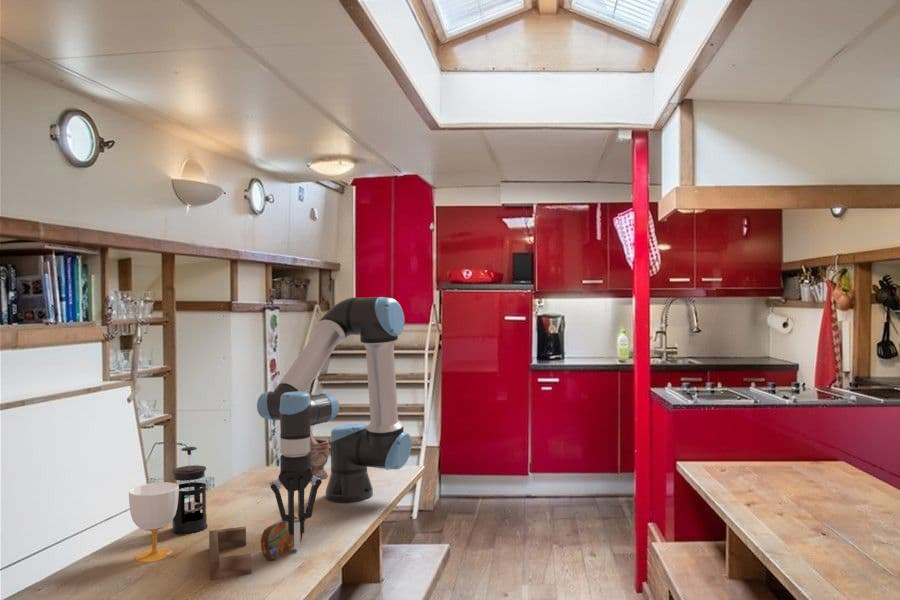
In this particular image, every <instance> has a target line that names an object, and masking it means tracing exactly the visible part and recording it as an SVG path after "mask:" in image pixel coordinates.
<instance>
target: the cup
mask: <svg viewBox="0 0 900 600" xmlns="http://www.w3.org/2000/svg"><path fill="white" fill-rule="evenodd" d="M178 485H179V484H178V483H174V482H166V481H165V482H163V481H162V482H160V481H159V482H149V483H146V484H140V485H137V486H134V487H132V488H131V489H129V490H128V502H129V511H130V516H131V519H132V522H133V523H134V524H135V526H136V527H137V528H138V529H140V530H145V531H148V532H151V537H152V538H151V539H152V546H151V549H147V550H144V551H142V552H140V553H139V552H138V553H137V555H136V556H135V558H134V560H135V561H137V562H139V563H149V562H150V563H151V562H155V561H160V560H162V559H164V558H167V557H166V555H167V552H169V551H170V550H172V549H171V548H166V547H162V548H161V547H159V548H158V545H157V540H158V539H157V537H158V531H159V530H161V529H164V528H165V527H167V526H169V524H171V522H173V518H174V517H175V515H176V511H177V506H178V496H179V491H180V489H179V486H178ZM172 552H173V553H174V550H172Z"/></svg>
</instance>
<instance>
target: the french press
mask: <svg viewBox="0 0 900 600" xmlns="http://www.w3.org/2000/svg"><path fill="white" fill-rule="evenodd" d="M197 449H198V448H197V447H196V446H186V447H182V448H181V451H183V452H187V456H188V465H184V466H179V467H176V468H174V469H173V470H171V471H172V474H173V479H174V480H175V481H180V482H183V481H184V482H185V481H187V482H185V483H184V482H183V483H180V484H177V485H178V486H179V496H178V506H177V511H176V515H175V517H174V518H173V520H172V528H171V532H172V533H173V534H175V535H179V534H180V535H181V534H187V535H192V533H193V534H197V532H198V533H201V532H203V531H205V530H206V529H207V528H208V521H207V484H206V483H205V482H199V481H197V482H196V481H194V480H199V479H202V478H204V477H205V475H206V474H205V471H206V470H207V467H206V466H204V465H199V464H198V465H196V464H195V465H191V455H192V451H195V450H197ZM191 481H193V482H191ZM186 488H188V490H181V489H186ZM191 488H193V490H192V489H191ZM186 496H187V497H188V501H187V502H186V501H185V498H186ZM191 496H193V498H194V500H193V501H191ZM201 497H202V498H201ZM201 510H202V511H201ZM200 531H201V532H200Z"/></svg>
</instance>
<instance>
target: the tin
mask: <svg viewBox="0 0 900 600" xmlns="http://www.w3.org/2000/svg"><path fill="white" fill-rule="evenodd" d="M294 519H299V517H297V516H295V515H294ZM302 540H303V533H302V534H300V545H301V543H302ZM260 547H261V552H262V555H263V557H264V558H265V560H268V561H269V560H270V561H271V560H272V561H273V560H274V561H277V559H278V558H280V557H281V556H283V555H284V554H286V553H288V552H289V551H290V550H292V549H294V547H293V535H290V534H289V532H288V522H287V521H283V520H282V518H281V519H280V520H277V522H274V523H273V524H271V525H270V526H267V527H266V528H265V529H264V531H263V532H262V535H261V537H260Z"/></svg>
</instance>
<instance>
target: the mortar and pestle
mask: <svg viewBox="0 0 900 600" xmlns="http://www.w3.org/2000/svg"><path fill="white" fill-rule="evenodd" d="M310 432H311V433H310V439H311V451H310V452H309V453H310V454H311V471H312V473H313V476H315V477H318V478H320V479H321V481H322V480H325V479H327V478H328V476H329V475H328V472H327V471H326V470H325V469H324V467H325V465H327V463H328V460H329V454H330V450H329V449H330V441H329V440H328V439H324V438H322V439H315V437H314V435H313V432H312V429H311V428H310Z"/></svg>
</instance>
